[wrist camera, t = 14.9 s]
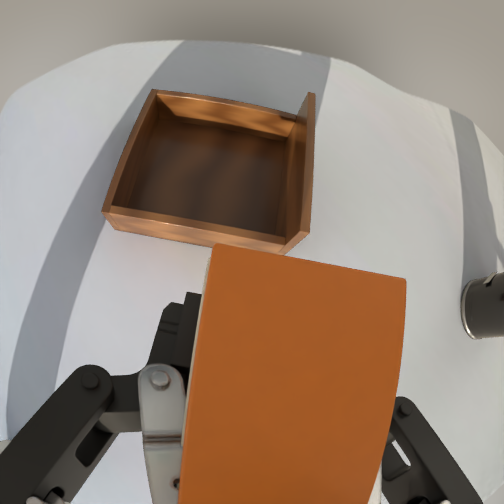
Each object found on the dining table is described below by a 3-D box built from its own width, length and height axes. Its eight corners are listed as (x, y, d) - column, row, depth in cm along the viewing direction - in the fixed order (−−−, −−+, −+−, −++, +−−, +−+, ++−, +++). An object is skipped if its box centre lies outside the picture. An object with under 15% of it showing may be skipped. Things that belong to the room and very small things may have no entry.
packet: (267, 314, 18) (409, 276, 5) (254, 402, 16) (365, 518, 4) (201, 303, 17) (211, 237, 5) (188, 394, 16) (173, 527, 3)
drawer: (291, 140, 35) (315, 93, 26) (278, 260, 31) (309, 233, 22) (155, 115, 32) (149, 63, 24) (114, 229, 28) (86, 192, 20)
